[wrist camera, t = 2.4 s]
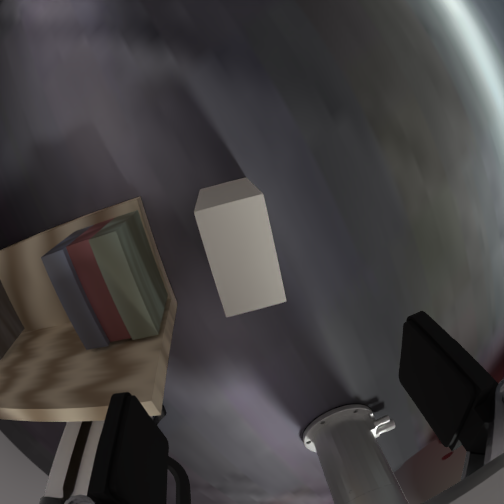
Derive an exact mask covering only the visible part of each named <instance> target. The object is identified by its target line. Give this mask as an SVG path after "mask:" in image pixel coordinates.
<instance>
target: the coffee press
mask: <svg viewBox="0 0 504 504" xmlns="http://www.w3.org/2000/svg"><path fill="white" fill-rule="evenodd" d="M165 415H166V410H165V408H164V406H163V405H162V411H161V415H157V416H155V417H154V419H153V417H152V416H150V417H151V418H152V420H153V421H154V422H155V424H156V425H157V424H158V423H159V421H160V420H161V419H162V418H163V417H164V416H165ZM104 421H105V420H102V421H76V422H67V424H66V427H65V430H64V432H63V435H62V438H61V441H60V444H59V447H58V450H57V453H56V456H55V459H54V462H53V465H52V468H51V471H50V475H49V478H48V482H47V485H46V488H45V492H44V496H43V497H42V498H41V499H40V502H39V504H64V503H65V502H66V500H68V499H69V498H70V497H72V496H74V495H85V496H87V492H88V487H89V482H90V477H91V472H92V468H93V463H94V459H95V455H96V450H97V446H98V442H99V438H100V435H101V432H102V429H103V425H104ZM167 469H168V470H169V471H170V472H171V473H172V474H173V476H174V478H175V481H176V504H191V494H190V483H189V479H188V476H187V474H186V472H185V470H184V469H183V467H182V466H181V465H180V464H179V463H178V462H177V461H175V460H174V459H172V458H171V457H169V456H168V468H167Z"/></svg>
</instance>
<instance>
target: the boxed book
mask: <svg viewBox="0 0 504 504" xmlns="http://www.w3.org/2000/svg"><path fill="white" fill-rule="evenodd" d="M194 214H195V218H196V221H197V225H198V228H199V232H200V235H201V238H202V242H203V245H204V248H205V252H206V255H207V258H208V261H209V265H210V268H211V271H212V274H213V277H214V281H215V284H216V287H217V290H218V293H219V296H220V299H221V302H222V306H223V309H224V312H225V315H226V318H227V317H231V316H235V315H238V314H242V313H246V312H250V311H254V310H258V309H261V308H265V307H269V306H272V305H276V304H280V303H283V302H287V301H286V296H285V292H284V287H283V282H282V277H281V273H280V268H279V263H278V259H277V254H276V249H275V245H274V240H273V236H272V231H271V227H270V222H269V218H268V213H267V209H266V204H265V200H264V196H263V193H262V192H261V191H260V190H259V189H258V188H257V187H256V186H255V185H254V184H253V183H251V182H250V181H249V180H248V179H247V178H246V177H245V178H241V179H237V180H233V181H229V182H225V183H222V184H218V185H214V186H210V187H207V188H203V189H200V191H199V195H198V198H197V202H196V206H195V209H194Z"/></svg>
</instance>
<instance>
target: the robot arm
mask: <svg viewBox="0 0 504 504" xmlns="http://www.w3.org/2000/svg"><path fill="white" fill-rule="evenodd" d="M399 380H400V382H401V384H402V386H403V387H404V388H405V390H406V391H407V393H408V394H409V396H410V397H411V398H412V400H413V401H414V403H415V404H416V406H417V407H418V409H419V410H420V411H421V413H422V414H423V416H424V417H425V419H426V420H427V422H428V423H429V425H430V426H431V428H432V429H433V431H434V432H435V434H436V435H437V437H438V438H439V440H440V441H441V443H442V444H443V445H444V446H445V447H448V446H449V448H450V449H451V451H454V450H455V449H457V448H458V447H460V446H461V445H463V446H464V448H465V449H466V451H467V452H466V458H465V464H464V468H463V473H462V477H461V481H460V482H458V483H457V484H455V485H454V486H452V487H450V488H449V489H447V490H445V491H443V492H441V493H440V494H438V495H436V496H434V497H433V498H431V499H429V500H427V501H425V502H424V503H421V504H504V379H503V380H502V381H501V382H500V383H499V384H498V383H497V382H496V381H495V380H494V379H493V378H492V377H491V376H490V374H489V373H488V372H487V371H486V370H485V369H484V368H483V367H482V366H481V365H480V364H479V363H478V362H477V361H476V360H475V359H474V358H473V357H472V356H471V355H470V354H469V353H468V352H467V351H466V350H465V349H464V348H463V347H462V346H461V345H460V344H459V343H458V342H457V341H456V340H454V339H453V338H452V337H451V336H450V335H449V334H448V333H447V332H446V331H445V330H443V329H442V328H441V327H440V326H439V325H438V324H437V323H436V322H435V321H434V320H433V319H432V318H431V317H430V316H429V315H427V314H426V313H425V312H424V311H420V312H418V313H416V314H413V315H411V316H409V317H408V318H407V321H406V322H405V323H404V325H403V337H402V349H401V359H400V368H399ZM394 428H395V423H394V421H393V419H389V416H388V415H385V416H383V417H381V418H379V419H377V420H375V419H374V414H373V412H372V410H371V409H370V408H369V407H367V406H365V405H361V404H352V405H346V406H342V407H338V408H336V409H333V410H331V411H328V412H326V413H325V414H323V415H321V416H319V417H318V418H317V419H315V420H314V421H313V422H312V423H311V424H310V425H309V426H308V427H307V428H306V429H305V431H304V433H303V442H304V445H305V447H306V448H307V449H309V450H311V451H314V452H317V454H318V457H319V460H320V463H321V466H322V469H323V472H324V475H325V478H326V481H327V483H328V486H329V489H330V492H331V495H332V498H333V501H334V504H409V503H408V501H407V499H406V497H405V495H404V493H403V491H402V489H401V487H400V485H399V483H398V482H397V479H396V477H395V475H394V474H393V472H392V470H391V468H390V466H389V464H388V462H387V460H386V458H385V456H384V454H383V452H382V450H381V448H380V446H379V444H378V442H377V440H376V437H379V434H381V433H384V432H387V431H389V430H391V429H394ZM168 450H169V445H168V441H167V438H166V437H165V436H164V434H163V433H162V432H161V430H160V429H159V428H158V426H157V425H156V424H155V422H154V421H153V420H152V418H151V417H150V416H149V414H148V413H147V411H146V410H145V409H144V407H143V406H142V404H141V403H140V401H139V400H138V399H137V397H136V396H135V395H131V394H130V393H129V392H123V393H115V394H113V395H112V396H111V399H110V403H109V406H108V410H107V414H106V417H105V421H104V425H103V429H102V432H101V435H100V438H99V442H98V446H97V450H96V455H95V459H94V463H93V468H92V472H91V477H90V482H89V487H88V492H87V496H85V495H74V496H72V497H70V498H69V499H68V500H66V502H65V503H64V504H166V494H167V468H168Z"/></svg>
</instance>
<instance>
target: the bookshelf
mask: <svg viewBox="0 0 504 504" xmlns="http://www.w3.org/2000/svg"><path fill="white" fill-rule="evenodd" d="M177 304H178V303H177V301H176V298H175V296H174V293H173V290H172V288H171V285H170V282H169V280H168V277H167V274H166V272H165V269H164V266H163V263H162V261H161V258H160V255H159V252H158V249H157V246H156V243H155V240H154V237H153V234H152V231H151V228H150V225H149V222H148V219H147V216H146V213H145V210H144V207H143V203H142V200H141V197H137V198H134V199H131V200H128V201H125V202H122V203H119V204H116V205H113V206H110V207H107V208H104V209H101V210H99V211H96V212H93V213H90V214H88V215H85V216H82V217H79V218H77V219H74V220H72V221H69V222H66V223H64V224H61V225H59V226H56V227H54V228H51V229H49V230H46V231H44V232H41V233H39V234H36V235H34V236H32V237H29V238H27V239H25V240H22V241H20V242H18V243H15V244H13V245H11V246H9V247H7V248H4V249H2V250H0V359H1V360H0V419H7V420H21V421H46V422H76V421H102V420H105V417H106V414H107V410H108V406H109V403H110V399H111V396H112V395H113V394H115V393H123V392H129V393H130V394H131V395H135V396H136V397H137V399H138V400H139V401H140V403H141V404H142V406H143V407H144V409H145V410H146V411H147V413H148V414H149V416H157V415H161V411H162V402H163V395H164V387H165V380H166V373H167V366H168V359H169V352H170V346H171V340H172V333H173V327H174V321H175V316H176V310H177Z"/></svg>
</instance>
